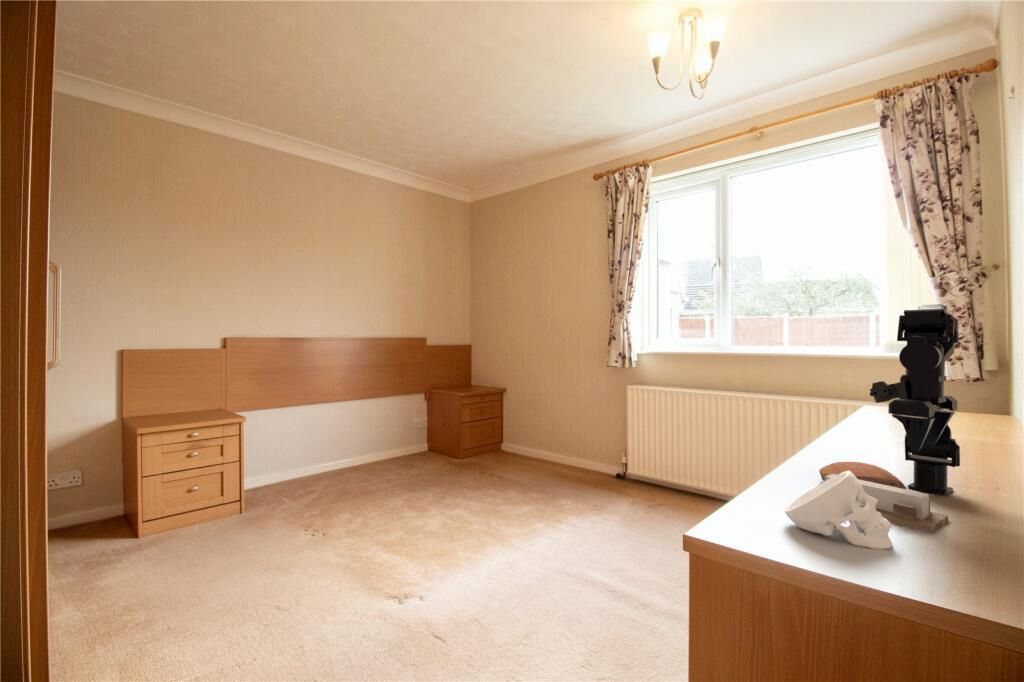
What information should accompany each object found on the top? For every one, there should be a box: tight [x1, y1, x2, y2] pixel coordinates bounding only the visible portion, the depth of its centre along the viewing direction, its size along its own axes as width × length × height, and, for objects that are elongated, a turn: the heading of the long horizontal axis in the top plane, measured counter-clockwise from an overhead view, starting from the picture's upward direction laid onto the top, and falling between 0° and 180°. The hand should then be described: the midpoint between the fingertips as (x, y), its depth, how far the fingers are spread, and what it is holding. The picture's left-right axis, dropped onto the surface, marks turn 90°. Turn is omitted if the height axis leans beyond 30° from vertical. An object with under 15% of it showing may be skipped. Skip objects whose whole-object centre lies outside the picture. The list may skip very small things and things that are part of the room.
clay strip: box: [825, 474, 930, 520], centre depth 94 cm, size 4×16×4 cm, turn 34°
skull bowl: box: [784, 471, 893, 550], centre depth 82 cm, size 10×14×12 cm
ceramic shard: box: [818, 461, 908, 490], centre depth 112 cm, size 15×6×15 cm
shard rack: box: [876, 498, 949, 534], centre depth 94 cm, size 10×20×4 cm, turn 34°
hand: (923, 447), depth 95 cm, fingers open, 9 cm apart
